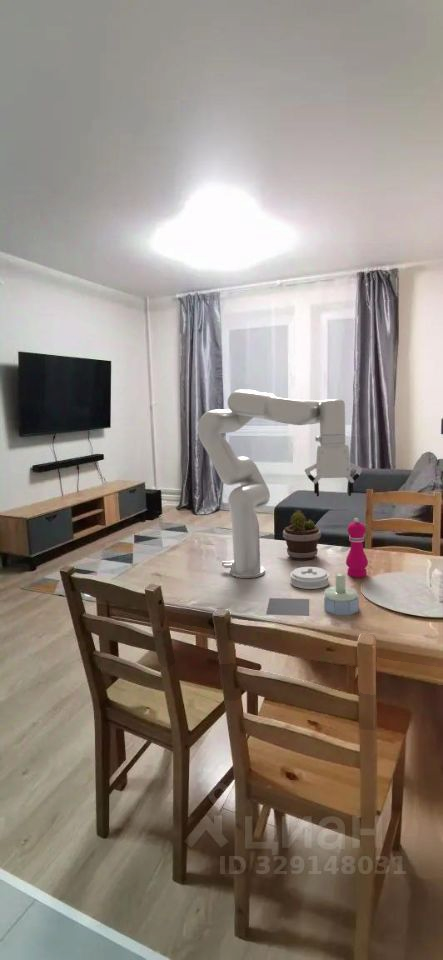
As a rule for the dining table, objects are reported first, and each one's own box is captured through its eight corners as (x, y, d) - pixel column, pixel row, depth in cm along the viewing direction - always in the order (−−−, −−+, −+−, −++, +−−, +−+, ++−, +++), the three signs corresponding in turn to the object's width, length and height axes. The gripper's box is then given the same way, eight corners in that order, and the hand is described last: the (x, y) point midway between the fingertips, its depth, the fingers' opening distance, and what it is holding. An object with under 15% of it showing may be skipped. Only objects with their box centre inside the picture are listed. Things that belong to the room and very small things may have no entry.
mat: (266, 615, 138) (266, 614, 138) (269, 599, 149) (269, 598, 149) (309, 616, 135) (309, 615, 135) (309, 600, 147) (309, 599, 147)
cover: (325, 601, 135) (324, 580, 135) (323, 589, 144) (323, 569, 143) (358, 602, 134) (358, 580, 133) (355, 590, 143) (355, 569, 142)
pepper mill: (368, 578, 163) (368, 520, 160) (346, 577, 165) (346, 520, 162) (366, 571, 170) (366, 515, 167) (345, 571, 172) (345, 515, 169)
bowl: (324, 615, 136) (324, 601, 135) (324, 602, 145) (323, 589, 144) (359, 616, 134) (359, 602, 134) (356, 603, 143) (356, 590, 143)
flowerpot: (293, 549, 201) (292, 502, 198) (328, 554, 192) (327, 504, 189) (275, 559, 189) (274, 508, 186) (312, 564, 180) (310, 511, 177)
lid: (282, 585, 161) (282, 571, 160) (305, 575, 170) (305, 561, 169) (314, 594, 152) (313, 579, 151) (336, 583, 161) (336, 569, 160)
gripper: (303, 442, 147) (305, 498, 149) (363, 440, 144) (363, 497, 146) (304, 440, 154) (305, 493, 156) (360, 438, 151) (361, 492, 153)
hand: (333, 495), depth 151 cm, fingers open, 9 cm apart
